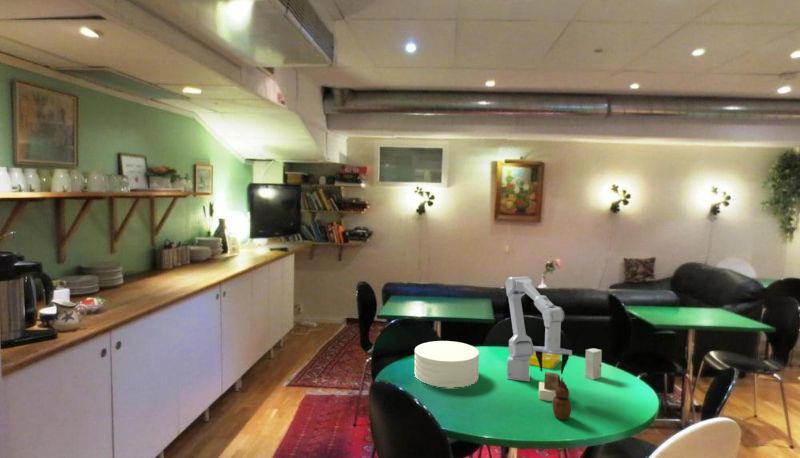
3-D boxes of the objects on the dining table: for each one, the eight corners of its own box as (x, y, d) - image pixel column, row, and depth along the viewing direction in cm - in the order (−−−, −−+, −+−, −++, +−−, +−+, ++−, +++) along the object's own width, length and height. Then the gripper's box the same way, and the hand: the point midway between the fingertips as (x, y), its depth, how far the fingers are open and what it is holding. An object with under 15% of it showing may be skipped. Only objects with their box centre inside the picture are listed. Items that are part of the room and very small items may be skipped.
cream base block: (539, 400, 184) (539, 390, 183) (538, 391, 192) (538, 381, 192) (563, 403, 181) (563, 393, 181) (561, 394, 190) (562, 384, 190)
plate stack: (405, 382, 200) (405, 355, 199) (426, 361, 226) (426, 338, 225) (469, 393, 189) (470, 365, 189) (484, 370, 215) (485, 345, 214)
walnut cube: (544, 388, 185) (544, 376, 185) (544, 384, 190) (545, 371, 189) (557, 390, 183) (558, 377, 183) (557, 385, 188) (558, 373, 188)
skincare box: (593, 380, 204) (594, 352, 203) (584, 376, 208) (585, 349, 207) (601, 377, 207) (602, 350, 207) (592, 374, 211) (593, 347, 210)
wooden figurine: (549, 413, 172) (550, 373, 171) (565, 413, 172) (566, 372, 171) (557, 422, 165) (558, 380, 164) (573, 421, 165) (574, 379, 164)
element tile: (531, 355, 237) (531, 345, 237) (561, 361, 229) (561, 351, 229) (520, 363, 225) (520, 353, 225) (552, 370, 217) (552, 360, 216)
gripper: (532, 338, 184) (531, 372, 185) (572, 342, 179) (571, 377, 180) (533, 333, 191) (532, 366, 191) (572, 337, 186) (570, 371, 187)
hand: (551, 371), depth 186 cm, fingers open, 7 cm apart
